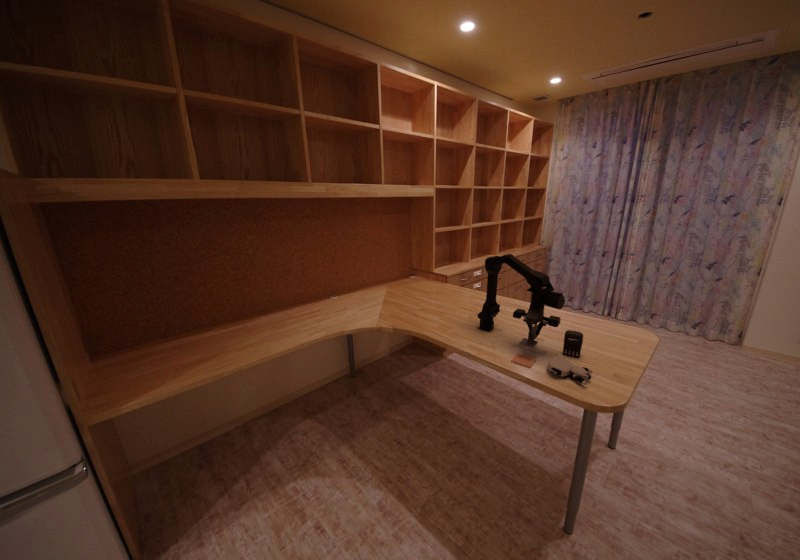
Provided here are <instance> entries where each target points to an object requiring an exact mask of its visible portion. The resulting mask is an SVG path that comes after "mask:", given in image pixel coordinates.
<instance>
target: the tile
mask: <svg viewBox="0 0 800 560" xmlns="http://www.w3.org/2000/svg"><path fill="white" fill-rule="evenodd" d="M536 361H537V358H535V357H533V356H529V355H526V354H523V353H521V352H517V353H516V354H515V355H514V356H513V357H512V358H511V360H510V362H511V363H512V362H513V363H512V364H515V365H518V366H521V367H525V368H527V369H532V367H533V366H534V364H535V363H536Z"/></svg>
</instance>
